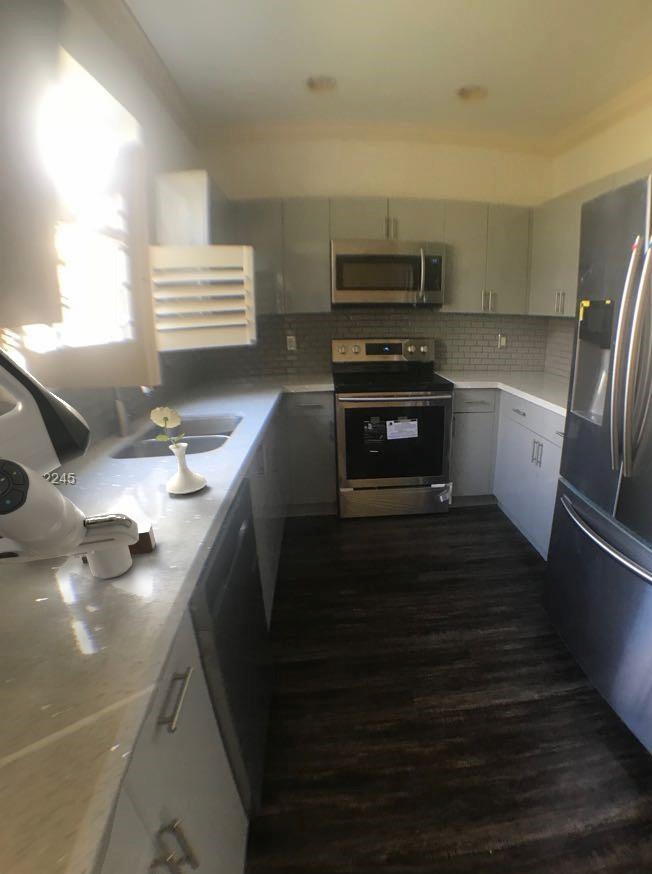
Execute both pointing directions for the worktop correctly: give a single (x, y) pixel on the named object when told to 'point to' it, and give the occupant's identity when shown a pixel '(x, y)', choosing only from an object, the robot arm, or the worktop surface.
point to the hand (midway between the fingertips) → (85, 552)
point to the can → (110, 561)
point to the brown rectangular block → (140, 542)
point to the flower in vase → (177, 454)
